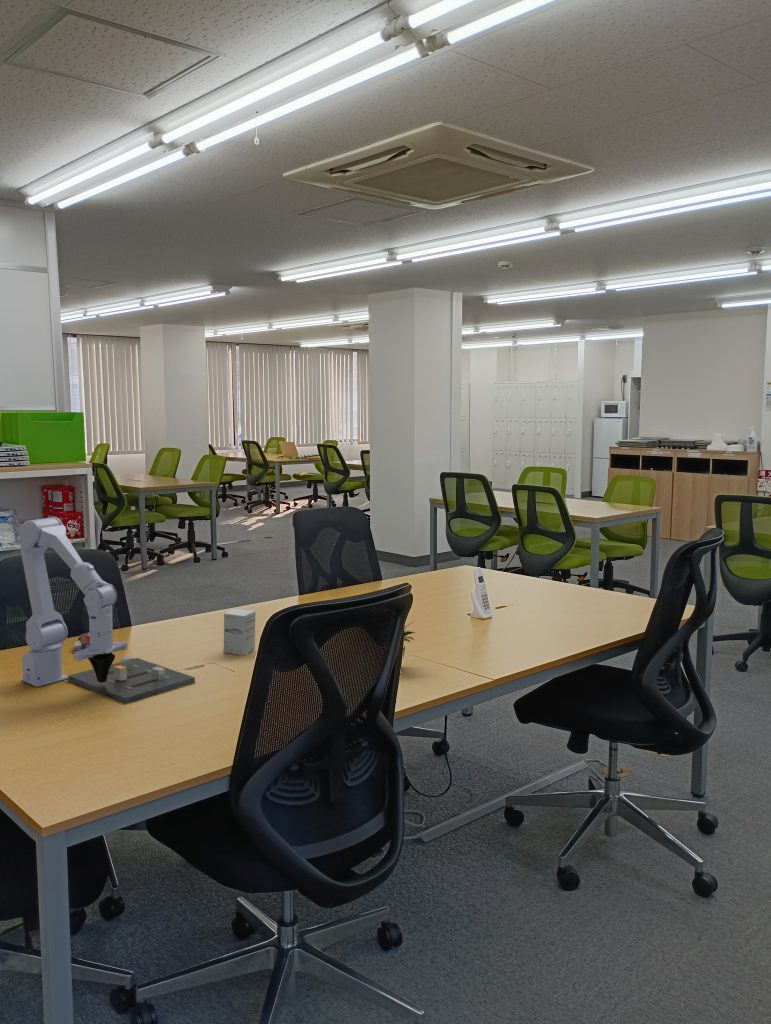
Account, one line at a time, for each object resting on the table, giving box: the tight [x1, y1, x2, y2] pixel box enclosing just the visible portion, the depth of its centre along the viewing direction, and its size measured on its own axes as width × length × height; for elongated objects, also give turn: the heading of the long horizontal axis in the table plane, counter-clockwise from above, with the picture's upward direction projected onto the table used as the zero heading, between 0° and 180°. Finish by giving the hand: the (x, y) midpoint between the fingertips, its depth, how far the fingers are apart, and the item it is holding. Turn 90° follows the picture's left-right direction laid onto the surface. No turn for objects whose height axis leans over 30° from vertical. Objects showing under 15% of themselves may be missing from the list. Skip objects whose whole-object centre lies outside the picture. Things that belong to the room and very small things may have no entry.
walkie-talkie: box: [73, 631, 90, 653], centre depth 254 cm, size 9×4×20 cm
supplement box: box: [223, 608, 257, 656], centre depth 256 cm, size 7×7×13 cm
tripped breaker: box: [114, 665, 127, 681], centre depth 222 cm, size 2×3×3 cm, turn 52°
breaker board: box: [67, 655, 196, 705], centre depth 225 cm, size 22×26×4 cm
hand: (101, 681), depth 218 cm, fingers closed
